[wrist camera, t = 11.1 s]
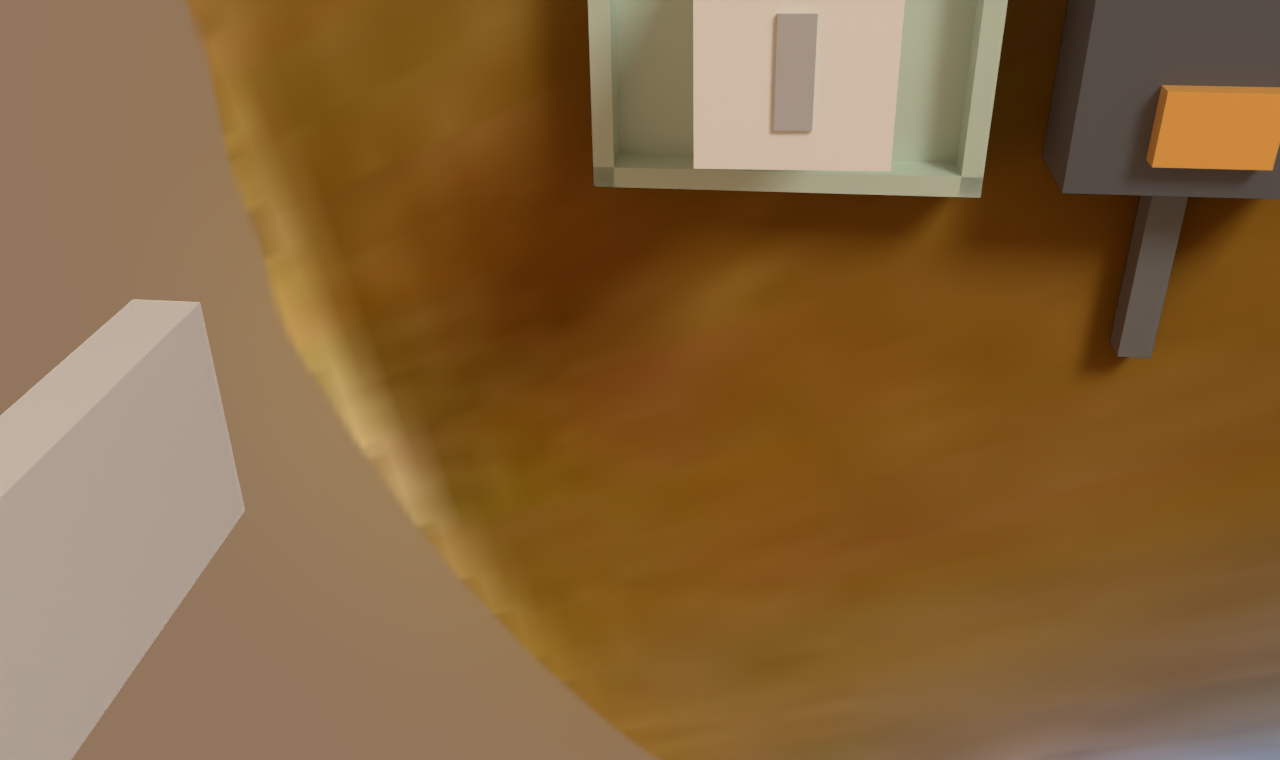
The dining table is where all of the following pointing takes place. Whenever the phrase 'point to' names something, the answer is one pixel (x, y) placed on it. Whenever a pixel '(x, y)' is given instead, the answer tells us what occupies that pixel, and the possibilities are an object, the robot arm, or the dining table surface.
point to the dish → (921, 166)
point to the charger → (795, 83)
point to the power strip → (1121, 115)
